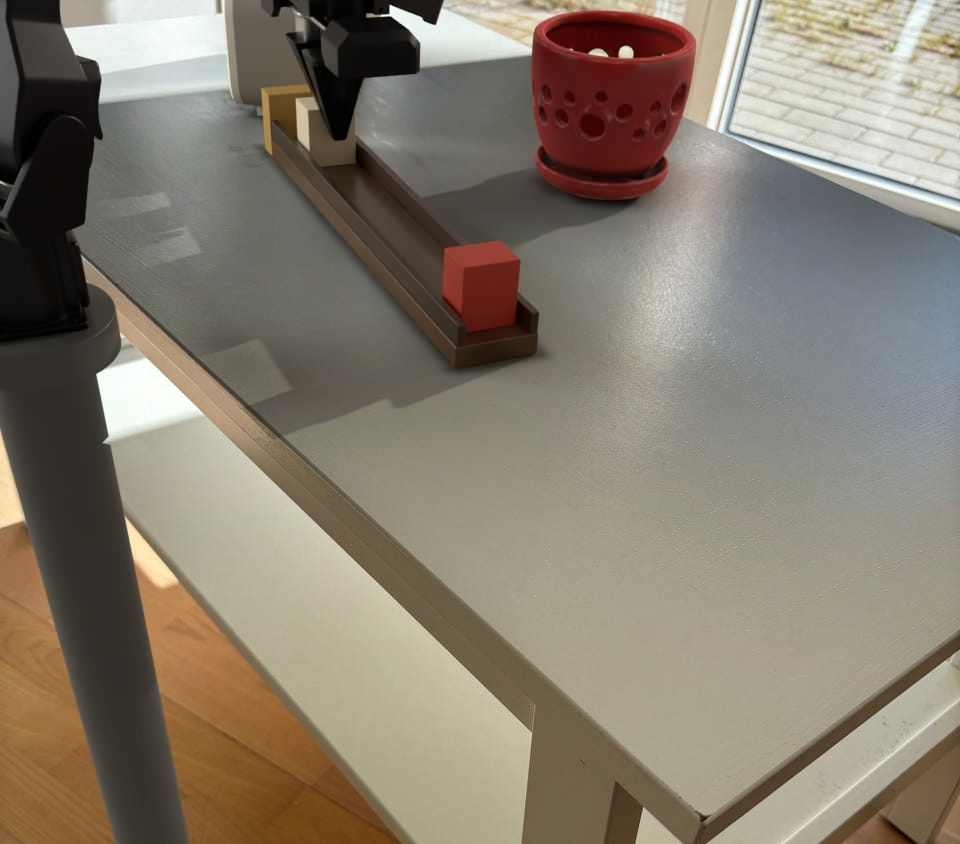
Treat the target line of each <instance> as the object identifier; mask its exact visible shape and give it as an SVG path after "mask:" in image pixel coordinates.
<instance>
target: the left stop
mask: <svg viewBox="0 0 960 844" xmlns="http://www.w3.org/2000/svg"><path fill="white" fill-rule="evenodd" d="M261 92H262V107H263V116H262V121H263V122H262V123H263V134H264V135H263V136H264V149H265V150H266V151H267V152H268V154H269V155H270V156H271V157H272V158H273V156H272V141H271V140H272V139H273V138H272V124H271V121H274V120H278V121H279V122H280V123H281V124H282V125H283V126H284V128H285V129H286V130H287V131H288V132H289V133H290V134H291V135H292V136H293V137H298V135H297V115H296V98H306V97H313V95H312V92H311V90H310V88H309V86H308V84H305V85H292V86H279V87H266V88H261Z"/></svg>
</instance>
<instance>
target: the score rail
mask: <svg viewBox="0 0 960 844" xmlns="http://www.w3.org/2000/svg"><path fill="white" fill-rule="evenodd" d="M271 124H272V138H273V139H272V140H271V141H272V156H273V157H272V156H271V157H272V158H273V159H274V160H275V161H276V163H277V164H278V165H279V166H280V167H281V168H282V170H283V171H284V172H285V173H286V174H287V175H288V176H289V177H290V179H291V180H292V181H293V183H295V185H297V187H298V188H299V189H300V191H301V192H302V193H303V194H304V195H305V196H306V197H307V198H308V200H309V201H310V202H311V204H313V206H314V207H315V208H316V209H317V210H318V211H319V212H320V214H321V215H322V216H323V217H324V218H325V219H326V221H327V222H328V223H329V224H330V226H331V227H332V228H333V229H334V230H335V231H336V232H337V233H338V235H339V236H340V237H341V238H342V239H343V240H344V242H345V243H346V244H347V245H348V246H349V247H350V248H351V250H352V251H353V252H354V253H355V254H356V255H357V257H358V258H359V259H360V260H361V261H362V263H363V264H364V265H365V266H366V267H367V268H368V270H369V271H370V272H371V273H372V274H373V275H374V276H375V278H376V279H377V280H378V281H379V282H380V283H381V285H382V286H383V287H384V288H385V290H386V291H388V293H389V294H390V295H391V296H392V298H393V299H394V300H395V301H396V302H397V303H398V304H399V306H401V308H402V309H403V310H404V311H405V313H406V314H407V315H408V316H409V318H411V319H412V320H413V322H414V323H415V324H416V325H417V327H418V328H419V329H420V330H421V331H422V332H423V333H424V334H425V336H426V337H427V338H428V339H429V341H431V343H432V344H433V345H434V346H435V347H436V349H438V351H439V352H440V353H441V354H442V356H444V357H445V359H446V360H447V362H449V363H450V365H451V366H452V367H453V368H454V369H459V368H465V367H470V366H476V365H481V364H487V363H493V362H497V361H503V360H509V359H513V358H514V359H515V358H521V357H524V356H529V355H536V354H537V350H538V342H539V333H538V331H539V322H540V311H539V310H538V309H537V308H536V307H535V306H534V305H532V304H531V302H530V301H528V299H526V298H525V297H524V295H522V294H521V293H520V292H519V291H518V295H517V306H516V317H515V325H510V326H504V327H498V328H493V329H487V330H481V331H475V332H469V333H466V328H467V325H466V323H465V322H464V321H463V320H462V319H461V318H460V317H459V316H458V315H457V314H456V313H455V311H454V310H453V309H452V308H451V307H450V306H449V305H448V304H447V303H446V302H445V301H444V300H443V299H442V296H443V273H444V251H445V248H450V247H457V246H465V245H470V243H469V242H467V240H466V239H464V238H463V236H462V235H461V234H460V233H458V232H457V231H456V230H455V229H454V228H453V227H452V226H451V225H450V223H448V222H447V221H446V220H445V219H444V218H443V217H442V216H441V215H440V214H439V213H438V212H436V210H435V209H433V208H432V207H431V205H429V204H428V203H427V202H426V201H425V200H424V199H423V198H422V197H421V196H420V195H419V194H418V193H417V192H416V191H415V190H414V189H413V188H412V187H411V186H410V185H409V184H408V183H406V181H404V179H402V178H401V177H400V175H398V174H397V173H396V172H395V171H394V170H393V168H391V167H390V166H389V165H388V164H387V163H386V162H385V161H384V160H383V159H382V158H381V157H379V155H378V154H377V153H376V152H375V151H374V150H372V148H370V146H369V145H367V144H366V142H364V141H363V140H362V139H361V138H360V137H359V136H358V134H356V133H355V141H356V163H355V164H345V165H336V166H327V167H320V165H319V164H318V163H317V162H316V161H315V160H314V159H313V158H312V157H311V156H310V155H309V154H308V152H307V151H306V150H305V149H304V148H303V147H302V146H301V145H300V144H299V143H298V137H293V136H292V135H291V134H290V133H289V132H288V131H287V130H286V129H285V128H284V126H283V125H282V124H281V123H280V122H279V121H278V120H274V121H271Z"/></svg>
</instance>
